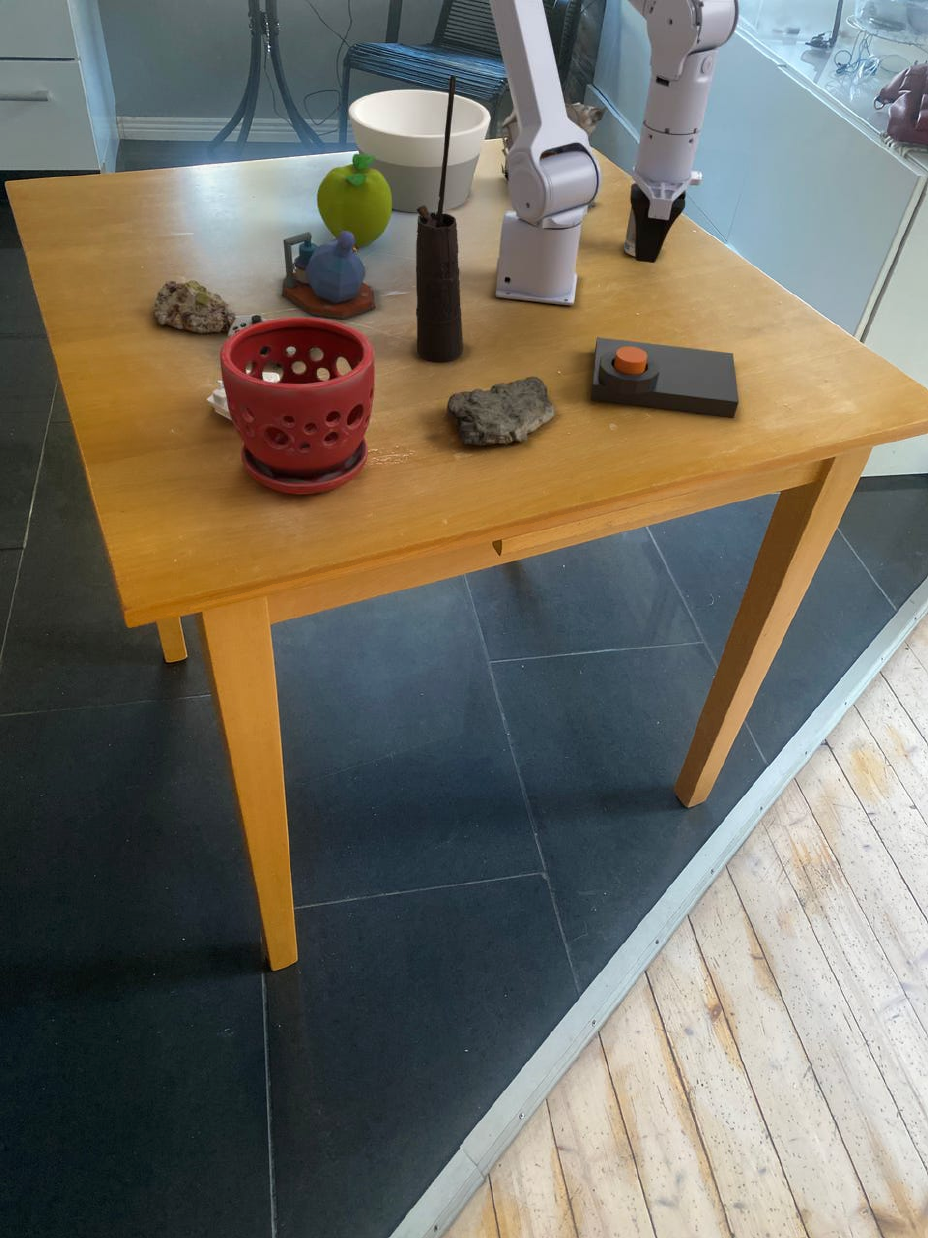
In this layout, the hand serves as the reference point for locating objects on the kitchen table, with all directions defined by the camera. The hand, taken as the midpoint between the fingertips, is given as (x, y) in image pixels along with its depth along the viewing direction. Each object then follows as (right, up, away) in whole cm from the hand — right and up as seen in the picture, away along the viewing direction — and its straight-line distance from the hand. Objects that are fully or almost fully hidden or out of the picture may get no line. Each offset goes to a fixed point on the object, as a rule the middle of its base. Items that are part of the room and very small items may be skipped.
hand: (645, 259), depth 103 cm
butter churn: (-23, -9, +3) cm, 25 cm away
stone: (-16, -19, -7) cm, 26 cm away
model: (-36, -1, +10) cm, 37 cm away
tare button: (-2, -13, -4) cm, 14 cm away
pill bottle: (+4, +10, +23) cm, 26 cm away
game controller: (-41, -10, +1) cm, 42 cm away
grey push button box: (+2, -13, 0) cm, 14 cm away
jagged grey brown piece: (-8, +23, +35) cm, 43 cm away
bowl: (-26, +22, +33) cm, 47 cm away
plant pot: (-35, -24, -13) cm, 44 cm away
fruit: (-34, +10, +21) cm, 41 cm away
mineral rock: (-50, -5, +5) cm, 50 cm away
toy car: (-41, -18, -7) cm, 45 cm away
